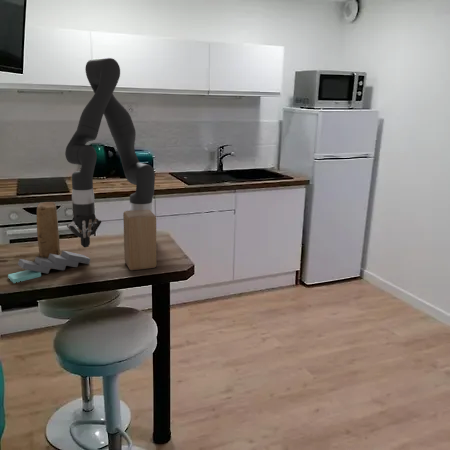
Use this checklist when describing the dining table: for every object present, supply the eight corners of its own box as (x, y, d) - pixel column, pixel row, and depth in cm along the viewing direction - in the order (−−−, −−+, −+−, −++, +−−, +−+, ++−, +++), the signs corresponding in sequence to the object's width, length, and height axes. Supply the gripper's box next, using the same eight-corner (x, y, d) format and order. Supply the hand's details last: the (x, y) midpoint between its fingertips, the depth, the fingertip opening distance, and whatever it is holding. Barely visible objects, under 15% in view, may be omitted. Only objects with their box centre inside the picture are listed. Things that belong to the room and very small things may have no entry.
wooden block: (124, 261, 169) (122, 210, 163) (150, 258, 173) (149, 208, 167) (129, 271, 160) (128, 217, 154) (157, 268, 164) (156, 215, 158)
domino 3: (60, 261, 162) (36, 256, 156) (66, 265, 159) (41, 260, 152) (58, 266, 162) (34, 261, 156) (64, 270, 159) (39, 266, 152)
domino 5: (83, 254, 168) (62, 250, 162) (90, 258, 165) (69, 254, 158) (81, 259, 168) (60, 255, 162) (88, 264, 165) (67, 259, 158)
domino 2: (34, 268, 156) (7, 274, 150) (40, 272, 153) (13, 279, 147) (35, 273, 157) (8, 280, 151) (41, 277, 153) (14, 284, 147)
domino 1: (44, 264, 159) (19, 258, 153) (50, 268, 155) (24, 262, 149) (42, 269, 159) (17, 264, 152) (48, 273, 155) (22, 268, 149)
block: (60, 258, 170) (56, 206, 164) (38, 259, 167) (34, 207, 162) (60, 248, 179) (57, 199, 174) (40, 249, 177) (36, 200, 171)
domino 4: (72, 258, 165) (49, 253, 158) (78, 262, 162) (56, 257, 155) (70, 263, 165) (47, 258, 158) (76, 267, 162) (54, 263, 155)
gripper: (70, 205, 153) (73, 253, 158) (105, 200, 163) (107, 245, 168) (60, 201, 158) (63, 247, 163) (94, 196, 168) (96, 240, 173)
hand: (85, 246), depth 165 cm, fingers closed
